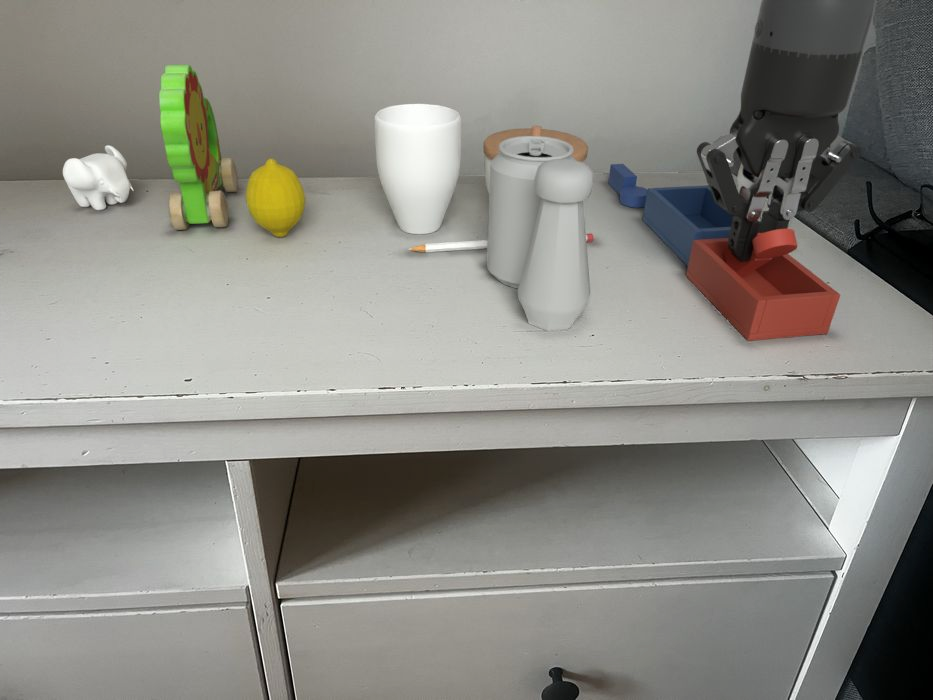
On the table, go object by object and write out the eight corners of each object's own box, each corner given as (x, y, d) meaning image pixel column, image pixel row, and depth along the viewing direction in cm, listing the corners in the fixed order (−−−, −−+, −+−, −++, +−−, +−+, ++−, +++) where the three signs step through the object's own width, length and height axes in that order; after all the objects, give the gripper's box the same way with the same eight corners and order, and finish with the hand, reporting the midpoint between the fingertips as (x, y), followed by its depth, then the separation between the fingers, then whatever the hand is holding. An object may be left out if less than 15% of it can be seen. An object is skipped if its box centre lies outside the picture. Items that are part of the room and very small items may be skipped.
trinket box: (460, 210, 78) (462, 123, 73) (530, 189, 84) (536, 107, 79) (530, 243, 72) (537, 149, 67) (600, 217, 78) (612, 129, 73)
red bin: (755, 270, 67) (764, 235, 66) (827, 334, 58) (840, 294, 56) (685, 275, 66) (693, 239, 64) (747, 340, 57) (758, 301, 55)
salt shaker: (595, 311, 61) (615, 158, 53) (574, 343, 56) (593, 182, 49) (530, 295, 63) (541, 147, 55) (505, 326, 58) (514, 169, 51)
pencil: (593, 242, 72) (594, 235, 72) (407, 254, 69) (407, 247, 68) (590, 239, 73) (591, 232, 72) (406, 250, 70) (406, 244, 69)
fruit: (303, 221, 75) (295, 145, 71) (313, 243, 71) (305, 163, 66) (249, 228, 73) (237, 150, 69) (255, 250, 69) (243, 169, 65)
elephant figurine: (108, 222, 74) (93, 166, 71) (49, 210, 76) (32, 155, 73) (155, 200, 79) (142, 147, 76) (98, 189, 82) (84, 137, 78)
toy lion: (193, 187, 83) (165, 46, 75) (241, 185, 84) (219, 45, 75) (166, 245, 70) (129, 81, 61) (224, 242, 70) (196, 80, 62)
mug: (462, 242, 72) (464, 126, 65) (378, 243, 71) (372, 126, 65) (455, 198, 82) (456, 94, 75) (381, 198, 81) (376, 94, 75)
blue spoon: (601, 183, 86) (604, 164, 85) (626, 182, 87) (629, 163, 86) (625, 208, 80) (628, 187, 79) (652, 207, 80) (656, 186, 79)
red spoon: (720, 278, 64) (715, 252, 64) (753, 275, 64) (748, 250, 65) (769, 246, 56) (762, 217, 57) (806, 243, 57) (799, 215, 57)
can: (480, 289, 63) (484, 155, 57) (491, 253, 70) (497, 128, 63) (566, 297, 62) (580, 161, 56) (569, 260, 69) (583, 134, 62)
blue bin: (702, 216, 78) (709, 185, 76) (756, 262, 69) (765, 227, 67) (642, 220, 77) (647, 187, 75) (688, 267, 68) (695, 231, 66)
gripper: (747, 51, 48) (696, 282, 57) (927, 48, 50) (850, 271, 60) (697, 31, 54) (658, 243, 64) (859, 30, 56) (799, 234, 66)
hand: (751, 256), depth 62 cm, fingers closed on red spoon, 1 cm apart
